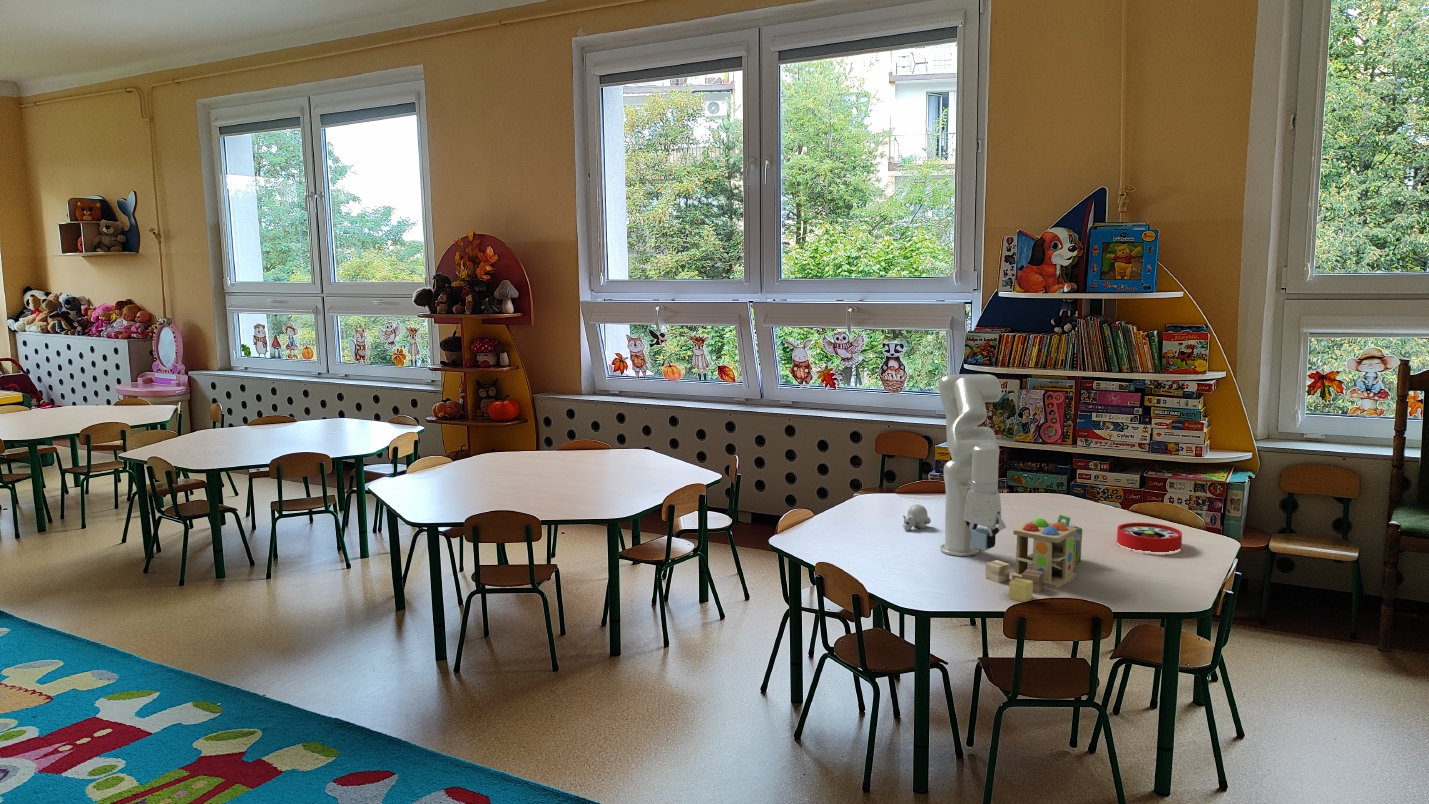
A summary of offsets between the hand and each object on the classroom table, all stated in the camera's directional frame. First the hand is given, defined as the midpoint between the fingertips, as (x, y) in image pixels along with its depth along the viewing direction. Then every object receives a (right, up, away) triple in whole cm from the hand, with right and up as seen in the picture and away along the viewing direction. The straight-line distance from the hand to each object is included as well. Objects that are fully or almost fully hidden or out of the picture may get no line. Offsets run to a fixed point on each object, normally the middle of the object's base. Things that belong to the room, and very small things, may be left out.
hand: (982, 544), depth 279 cm
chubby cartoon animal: (-6, -4, +65) cm, 66 cm away
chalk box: (+33, -9, +25) cm, 42 cm away
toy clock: (+68, -7, +38) cm, 78 cm away
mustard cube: (+8, -14, -9) cm, 19 cm away
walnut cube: (+15, -13, -1) cm, 20 cm away
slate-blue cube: (0, -1, 0) cm, 1 cm away
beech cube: (+7, -12, +8) cm, 16 cm away
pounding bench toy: (+24, -11, +11) cm, 29 cm away
